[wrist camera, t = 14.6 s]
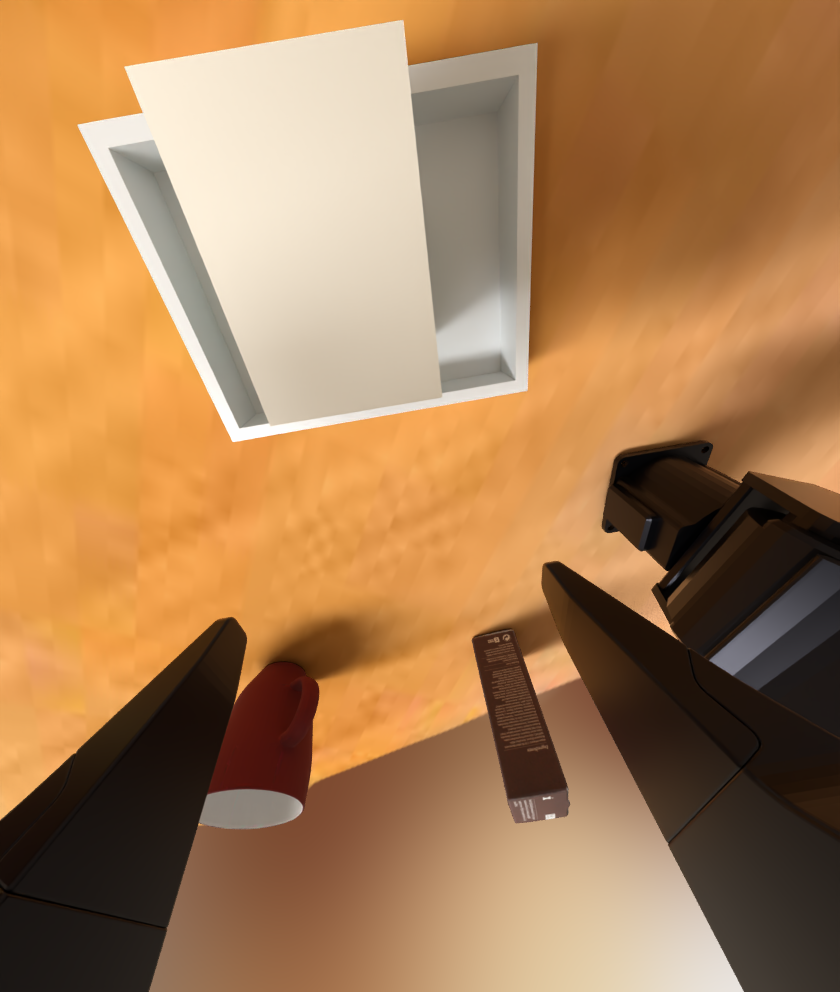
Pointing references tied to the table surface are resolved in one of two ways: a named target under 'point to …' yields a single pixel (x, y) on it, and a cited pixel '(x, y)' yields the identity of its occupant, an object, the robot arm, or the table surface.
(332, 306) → the carton
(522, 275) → the tote
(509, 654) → the box
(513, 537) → the table surface
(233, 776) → the mug
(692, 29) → the table surface
